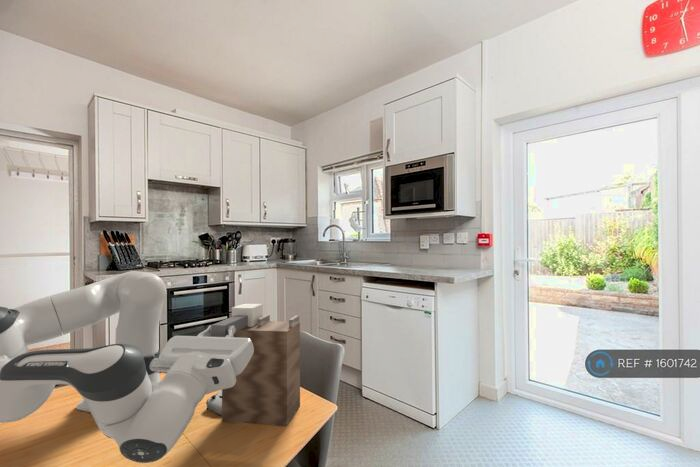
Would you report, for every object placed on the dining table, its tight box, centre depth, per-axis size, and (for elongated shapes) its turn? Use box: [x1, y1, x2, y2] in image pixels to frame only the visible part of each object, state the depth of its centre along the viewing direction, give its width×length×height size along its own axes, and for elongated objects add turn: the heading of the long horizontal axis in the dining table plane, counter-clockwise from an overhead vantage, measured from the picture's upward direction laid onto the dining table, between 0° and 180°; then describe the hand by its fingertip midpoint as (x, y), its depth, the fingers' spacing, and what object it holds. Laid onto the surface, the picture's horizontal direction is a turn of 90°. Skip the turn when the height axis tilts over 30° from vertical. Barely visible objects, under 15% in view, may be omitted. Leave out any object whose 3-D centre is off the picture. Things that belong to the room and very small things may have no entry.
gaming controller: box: [205, 390, 222, 416], centre depth 96 cm, size 11×6×7 cm
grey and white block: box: [210, 303, 264, 337], centre depth 88 cm, size 6×19×5 cm, turn 171°
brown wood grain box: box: [221, 314, 301, 427], centre depth 92 cm, size 18×11×26 cm, turn 81°
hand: (223, 327), depth 81 cm, fingers closed on grey and white block, 3 cm apart
